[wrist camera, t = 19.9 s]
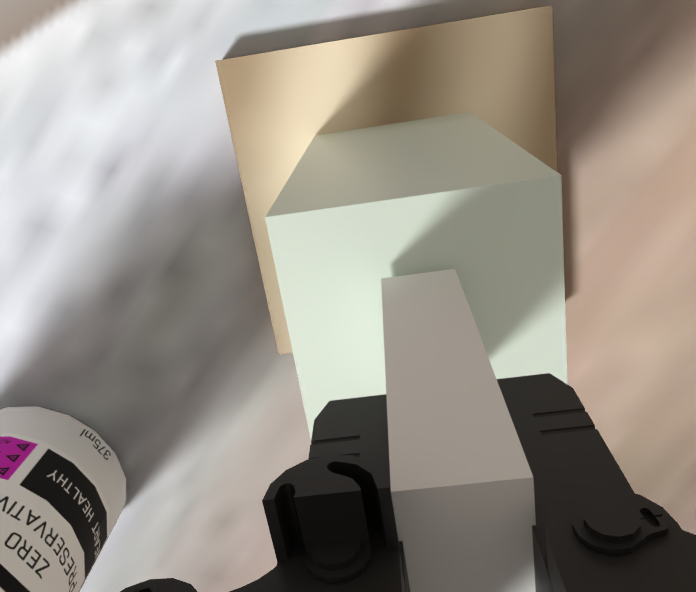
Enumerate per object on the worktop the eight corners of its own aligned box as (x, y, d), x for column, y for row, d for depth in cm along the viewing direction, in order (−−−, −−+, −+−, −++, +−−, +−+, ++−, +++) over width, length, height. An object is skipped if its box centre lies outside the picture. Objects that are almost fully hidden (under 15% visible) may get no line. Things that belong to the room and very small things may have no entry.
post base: (544, 6, 23) (629, -12, 15) (555, 310, 27) (625, 411, 20) (221, 60, 24) (153, 68, 16) (281, 344, 28) (249, 452, 21)
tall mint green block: (470, 111, 23) (561, 175, 12) (481, 260, 25) (568, 430, 14) (314, 135, 24) (265, 217, 13) (338, 279, 26) (314, 458, 15)
